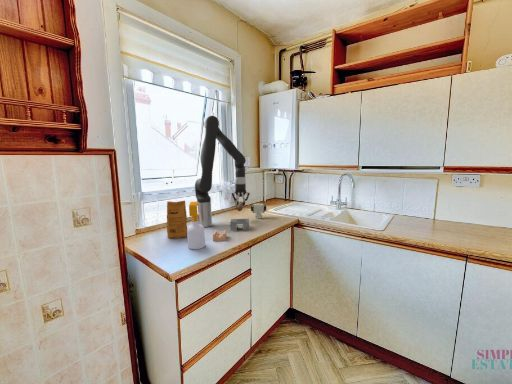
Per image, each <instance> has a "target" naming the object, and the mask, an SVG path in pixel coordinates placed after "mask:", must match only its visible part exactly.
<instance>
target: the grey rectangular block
mask: <svg viewBox="0 0 512 384" xmlns="http://www.w3.org/2000/svg"><path fill="white" fill-rule="evenodd" d="M229 224H230V225H229V226H230V232H236V231H237V230H238V225H242V231H245V232H246V231H248V232H249V231H250V218H231V219H230V221H229Z"/></svg>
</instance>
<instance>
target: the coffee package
mask: <svg viewBox="0 0 512 384" xmlns="http://www.w3.org/2000/svg"><path fill="white" fill-rule="evenodd" d="M187 217H188V215H187V207H186V200H179V201H170V200H169V201H167V202H166V234H167V238H168V239H173V238H175V239H181V238H186V237H187V228H188V224H187V223H188V221H187V220H188V219H187Z"/></svg>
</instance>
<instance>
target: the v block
mask: <svg viewBox="0 0 512 384" xmlns="http://www.w3.org/2000/svg"><path fill="white" fill-rule="evenodd" d="M226 239H227V230H226V229H224V230H223V231H222V232H221V233H219V231H218V230H216V229H215V230H214V231H213V233H212V241H213V242H216V241H217V242H220V241H221V242H223V241H224V242H225V241H226Z"/></svg>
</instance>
